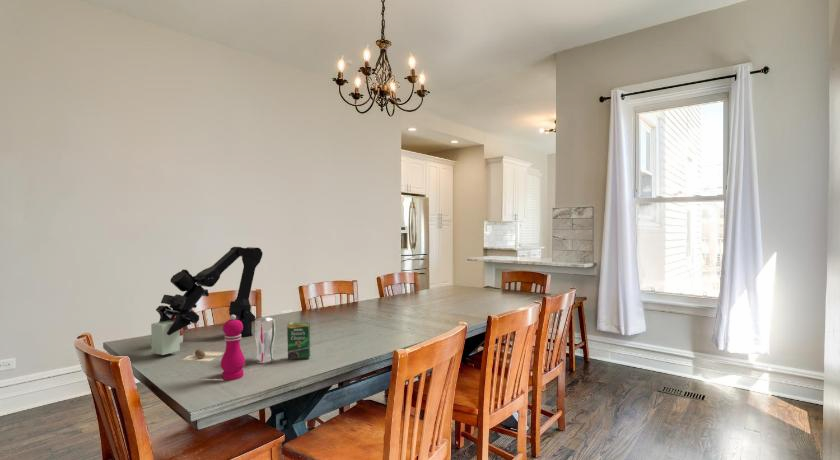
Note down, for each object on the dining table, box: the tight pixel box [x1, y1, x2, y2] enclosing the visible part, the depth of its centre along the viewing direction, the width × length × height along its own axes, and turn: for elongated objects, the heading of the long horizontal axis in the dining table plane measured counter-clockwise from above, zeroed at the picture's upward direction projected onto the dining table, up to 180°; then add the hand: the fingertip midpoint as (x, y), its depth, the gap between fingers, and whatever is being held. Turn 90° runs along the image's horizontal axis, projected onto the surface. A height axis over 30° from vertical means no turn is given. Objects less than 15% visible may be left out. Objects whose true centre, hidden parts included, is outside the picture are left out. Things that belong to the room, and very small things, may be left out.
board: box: [181, 350, 225, 362], centre depth 156 cm, size 11×11×1 cm
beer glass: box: [254, 316, 276, 364], centre depth 153 cm, size 7×7×15 cm
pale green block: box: [150, 320, 181, 356], centre depth 157 cm, size 6×6×11 cm
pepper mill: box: [220, 315, 246, 381], centre depth 136 cm, size 7×7×20 cm
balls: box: [194, 348, 205, 359], centre depth 154 cm, size 6×3×3 cm, turn 42°
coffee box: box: [286, 321, 311, 360], centre depth 156 cm, size 8×3×13 cm, turn 94°
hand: (162, 333), depth 156 cm, fingers closed on pale green block, 6 cm apart
